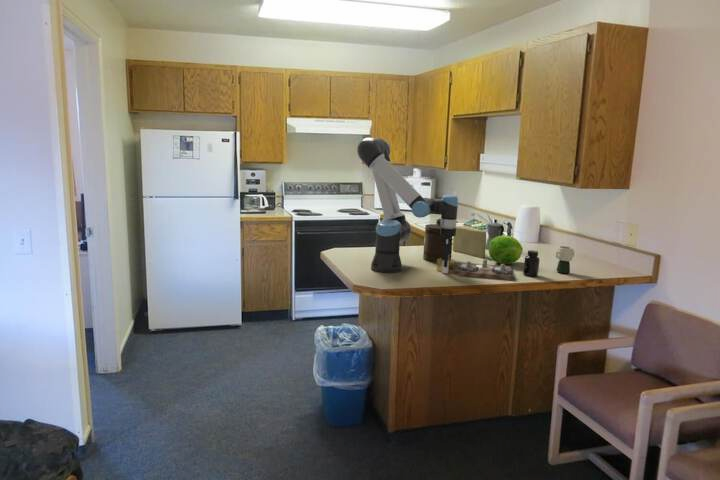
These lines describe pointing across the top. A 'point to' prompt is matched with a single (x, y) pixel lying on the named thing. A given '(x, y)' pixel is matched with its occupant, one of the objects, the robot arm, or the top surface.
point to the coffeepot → (494, 231)
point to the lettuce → (505, 249)
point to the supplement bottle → (531, 264)
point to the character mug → (564, 258)
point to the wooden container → (434, 242)
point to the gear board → (485, 270)
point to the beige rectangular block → (470, 241)
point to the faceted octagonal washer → (440, 265)
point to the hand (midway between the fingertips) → (445, 269)
